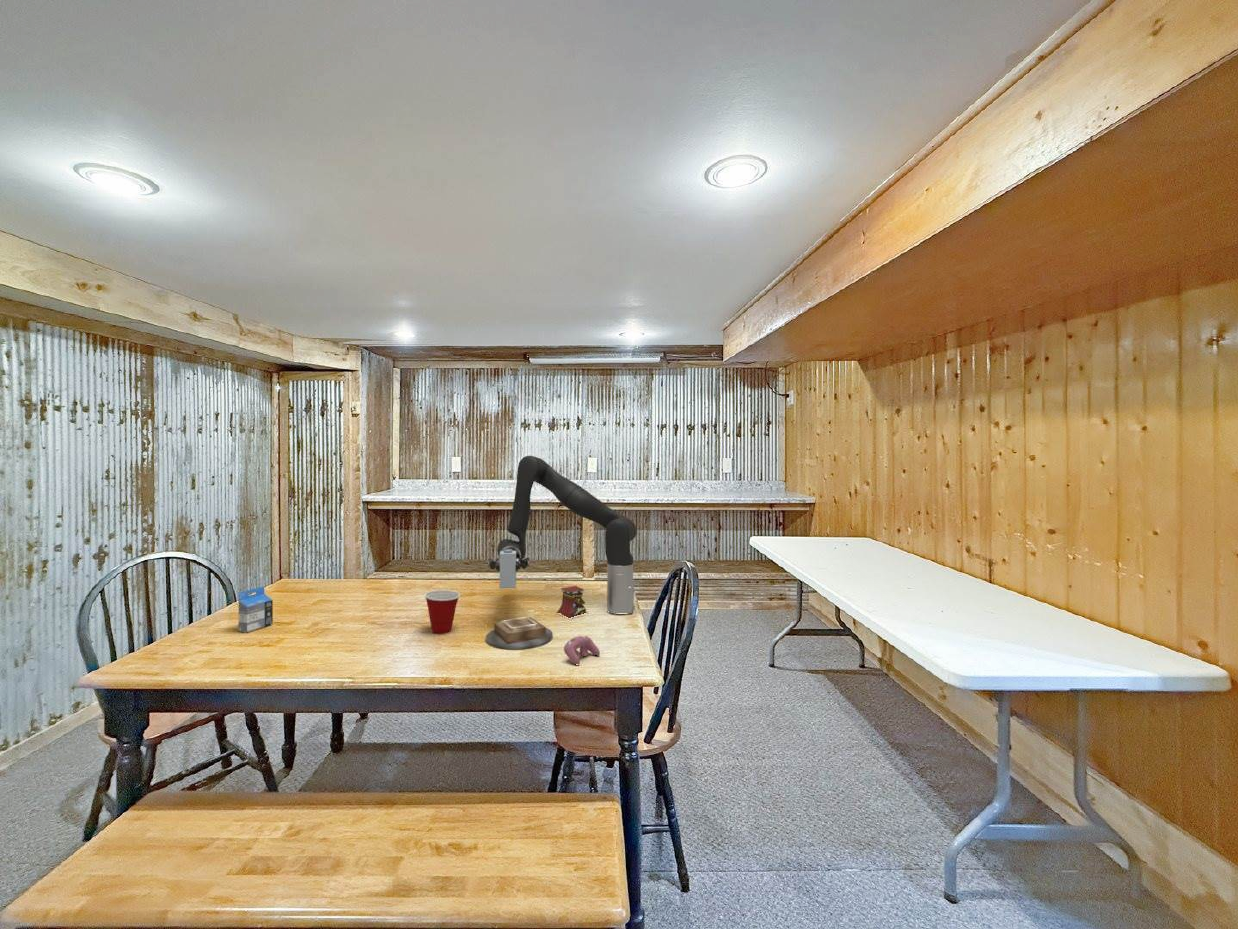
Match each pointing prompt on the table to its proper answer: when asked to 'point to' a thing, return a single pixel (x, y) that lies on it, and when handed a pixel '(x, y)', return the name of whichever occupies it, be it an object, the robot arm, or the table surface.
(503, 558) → the slate block
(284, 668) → the table surface
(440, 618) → the plastic cup
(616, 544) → the robot arm
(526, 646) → the tower base
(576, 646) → the purple curved piece
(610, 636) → the table surface
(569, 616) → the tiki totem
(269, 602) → the ink cartridge box
